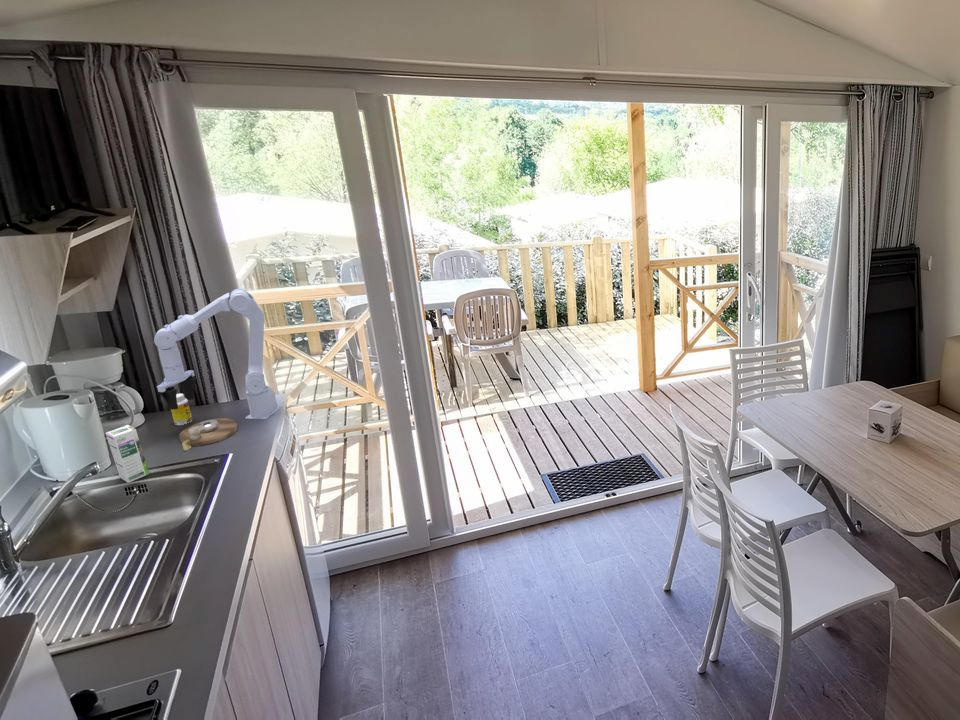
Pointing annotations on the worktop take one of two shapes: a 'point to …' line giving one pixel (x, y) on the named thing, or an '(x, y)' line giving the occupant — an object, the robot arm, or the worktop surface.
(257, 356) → the robot arm
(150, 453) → the worktop surface
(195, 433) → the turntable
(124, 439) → the syrup box
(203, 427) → the metal cover
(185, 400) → the supplement bottle
